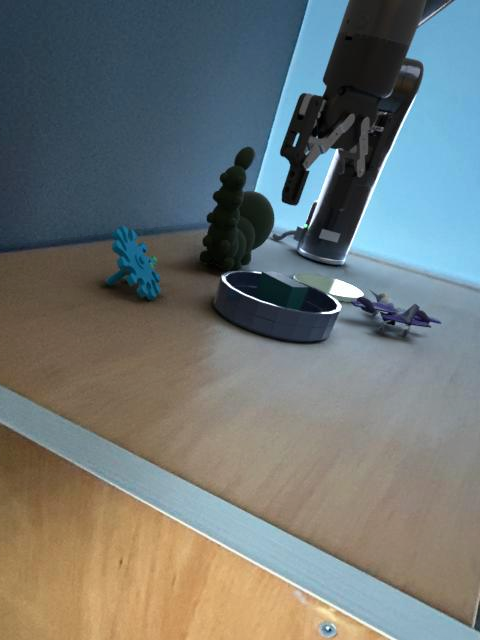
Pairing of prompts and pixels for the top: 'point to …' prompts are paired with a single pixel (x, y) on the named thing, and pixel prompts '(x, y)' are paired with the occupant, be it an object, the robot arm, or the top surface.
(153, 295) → the gear
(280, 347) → the top surface
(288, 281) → the teal rectangular block
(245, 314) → the bowl
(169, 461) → the top surface
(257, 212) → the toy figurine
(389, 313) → the toy airplane
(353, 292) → the plate
